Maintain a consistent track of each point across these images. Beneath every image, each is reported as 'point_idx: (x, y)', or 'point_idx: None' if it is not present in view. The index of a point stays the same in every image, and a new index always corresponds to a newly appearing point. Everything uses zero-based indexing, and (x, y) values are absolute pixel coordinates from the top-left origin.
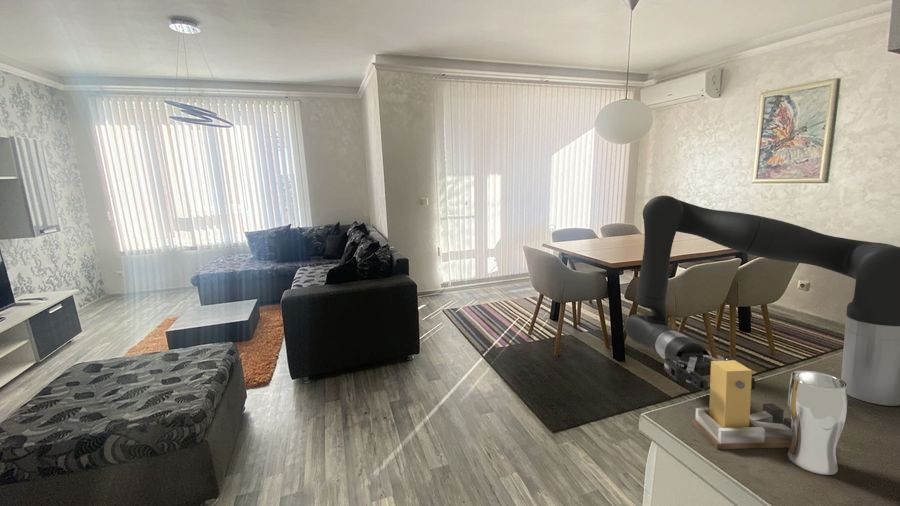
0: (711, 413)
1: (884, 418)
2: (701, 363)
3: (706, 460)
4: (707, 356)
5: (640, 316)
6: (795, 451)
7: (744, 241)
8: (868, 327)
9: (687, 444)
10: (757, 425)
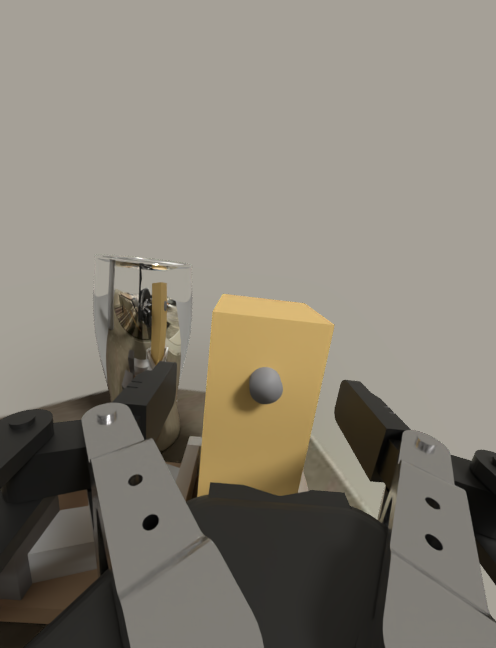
0: None
1: None
2: (324, 553)
3: (330, 458)
4: (201, 624)
5: None
6: (176, 415)
7: None
8: None
9: (362, 509)
10: (191, 450)
